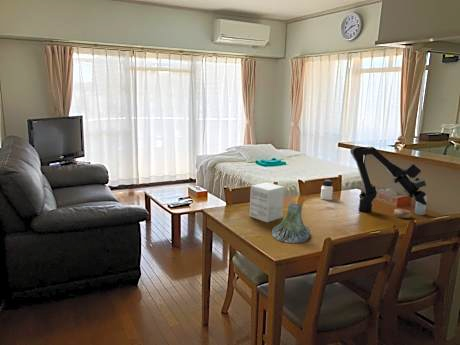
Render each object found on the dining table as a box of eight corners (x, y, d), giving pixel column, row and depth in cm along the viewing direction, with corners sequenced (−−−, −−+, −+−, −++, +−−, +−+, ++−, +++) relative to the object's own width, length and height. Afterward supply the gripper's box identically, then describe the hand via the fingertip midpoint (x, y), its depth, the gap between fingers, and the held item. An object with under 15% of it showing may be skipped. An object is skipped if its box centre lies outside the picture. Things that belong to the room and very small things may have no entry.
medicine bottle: (332, 200, 239) (333, 182, 237) (321, 199, 241) (322, 181, 238) (331, 197, 246) (333, 179, 244) (320, 196, 247) (322, 179, 245)
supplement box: (264, 211, 211) (266, 181, 207) (282, 217, 202) (284, 186, 198) (248, 216, 202) (250, 185, 198) (267, 222, 192) (269, 190, 189)
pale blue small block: (415, 214, 215) (418, 196, 212) (413, 211, 220) (416, 194, 217) (425, 215, 213) (428, 197, 211) (423, 212, 218) (425, 194, 216)
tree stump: (263, 238, 173) (267, 200, 173) (281, 235, 189) (285, 201, 190) (299, 245, 163) (304, 205, 163) (315, 242, 179) (319, 206, 180)
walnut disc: (395, 217, 207) (395, 212, 207) (392, 213, 216) (393, 208, 215) (412, 219, 205) (413, 214, 205) (409, 214, 214) (409, 209, 213)
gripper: (424, 177, 203) (442, 198, 204) (411, 171, 221) (428, 190, 222) (407, 191, 205) (425, 211, 207) (396, 183, 223) (412, 201, 225)
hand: (423, 203), depth 215 cm, fingers open, 6 cm apart
